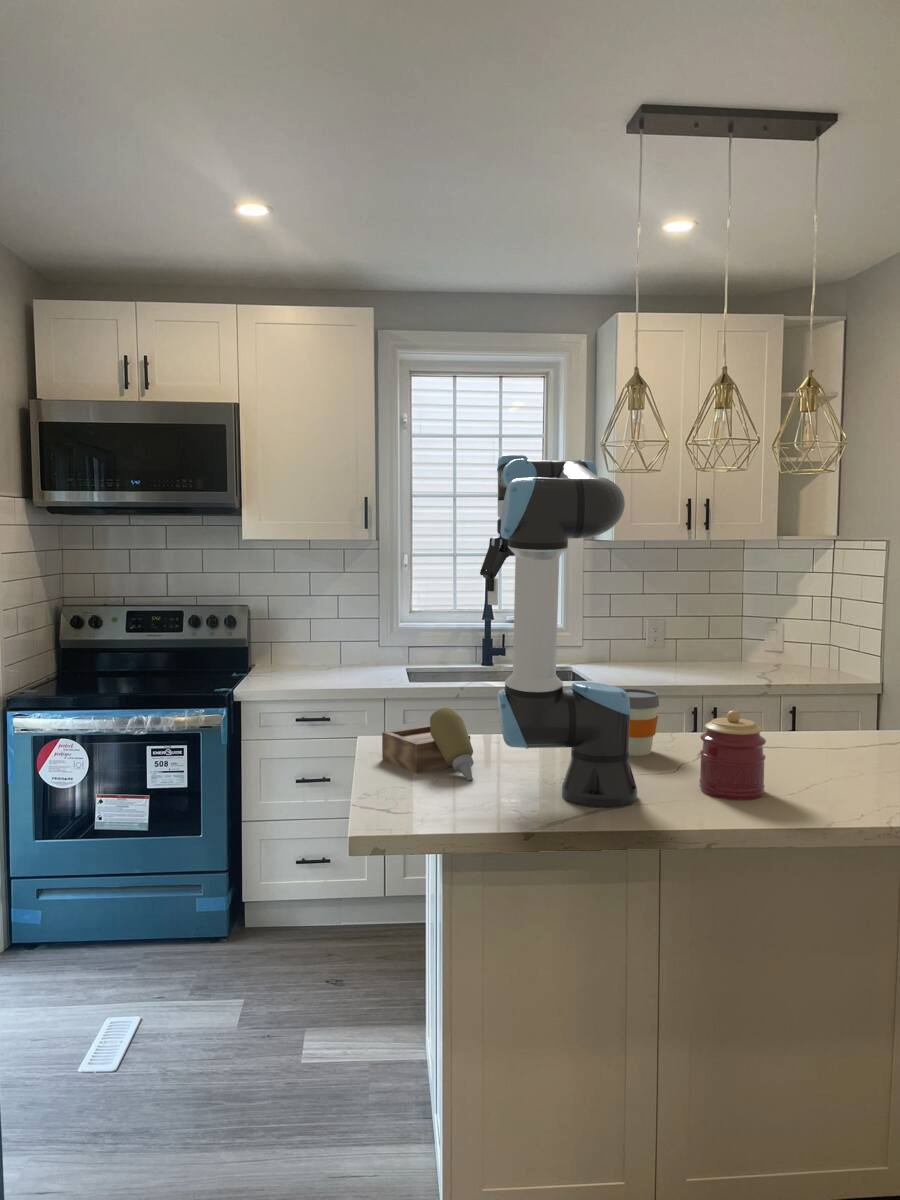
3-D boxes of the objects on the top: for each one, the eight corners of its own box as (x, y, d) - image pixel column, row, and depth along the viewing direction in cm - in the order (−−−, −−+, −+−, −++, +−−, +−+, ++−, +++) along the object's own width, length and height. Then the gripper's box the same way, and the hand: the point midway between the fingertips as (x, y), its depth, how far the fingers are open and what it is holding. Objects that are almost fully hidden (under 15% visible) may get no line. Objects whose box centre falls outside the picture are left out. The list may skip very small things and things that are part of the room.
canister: (775, 794, 182) (777, 710, 181) (746, 807, 173) (749, 719, 172) (717, 781, 191) (719, 702, 190) (687, 794, 182) (689, 710, 181)
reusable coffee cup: (595, 751, 218) (596, 691, 217) (630, 744, 225) (631, 686, 224) (633, 761, 208) (635, 699, 207) (668, 754, 215) (670, 694, 214)
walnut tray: (470, 766, 205) (470, 735, 204) (416, 775, 196) (416, 744, 196) (434, 752, 217) (434, 724, 217) (382, 761, 208) (382, 732, 208)
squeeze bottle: (428, 729, 204) (455, 795, 193) (422, 712, 197) (450, 779, 186) (460, 716, 205) (489, 780, 194) (455, 699, 198) (485, 764, 187)
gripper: (534, 519, 228) (533, 600, 229) (465, 517, 211) (465, 605, 212) (556, 518, 222) (555, 601, 224) (487, 517, 205) (487, 606, 207)
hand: (511, 603), depth 218 cm, fingers open, 13 cm apart
